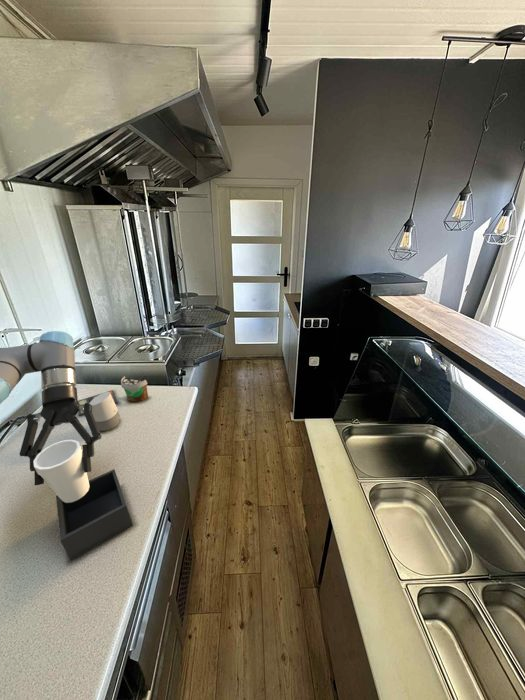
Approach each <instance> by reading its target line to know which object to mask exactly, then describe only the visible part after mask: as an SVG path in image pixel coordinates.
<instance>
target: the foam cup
mask: <svg viewBox="0 0 525 700" xmlns="http://www.w3.org/2000/svg"><path fill="white" fill-rule="evenodd" d="M33 463H34V468H35V470H36V471H37V473H38V475H41V477H42V478H43V479H44V482H45V483H46V484H47V485H48V486H49V488H51V490H52V492H54V493H55V495H58V497H59V498H60V499H61V500H62V501H63V502H65V503H70V502H74V501H76V500H79V499H80V498H81V497H83V496H84V495H85V494H86V493H87V492H88V490H89V487H90V486H89V477H88V472H86V473H84V461H83V447H82V446H81V443H80V441H78V440H75V439H64V440H61V441H58V442H54V443H52V444H50V445H49V446H47V447H45V448H44V449H42V450H41V452H40V453H39V454H38V455H37V456H36V458H35V460H34V461H33Z"/></svg>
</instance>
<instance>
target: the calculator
mask: <svg viewBox="0 0 525 700" xmlns="http://www.w3.org/2000/svg"><path fill="white" fill-rule="evenodd" d="M107 392H110V393H111V396H112V398H113V400H114V402H115V405H118V403H119V402H118V399H117V397H116V395H115V392H114V390H113V389H112V390H108V391H107ZM102 393H103V392H101V393H97V394H95V395H92V396H89V397H85V398H83V399H78V404H79V405H82V404H85V403H90V402H91V401H92V400H93V399H94V398H95V397H97V396H98V395H100V394H102ZM77 414H78V416H79V417H81V416H85V415H84V412H82V411H81V409H80V410H79V411H78V413H77Z"/></svg>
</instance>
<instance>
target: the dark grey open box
mask: <svg viewBox="0 0 525 700" xmlns="http://www.w3.org/2000/svg"><path fill="white" fill-rule="evenodd" d="M88 481H89V486H90V487H89V490H88V492H87V493H86V494H85V495H84V496H83V497H81V498H80V499H79V500H76V501H74V502H70V503H65V502H63V501H62V500H61V499H60V498H59V497H58V495H57V494H55V498H56V499H55V500H56V501H55V502H56V510H57V520H58V521H57V522H58V532H59V533H58V534H59V541H60V543H61V546H62V547H63V548H64V550H65V552H66V554H67V556H68V558H69V560H70V561H72V560H74V559H76V558H77V557H79V556H81V555H83V554H85V553H86V552H88V551H90V550H92V549H93V548H95V547H97V546H98V545H99V546H100V545H101V544H102V543H104V542H106V541H107V540H109V539H111V538H113V537H114V536H116V535H118V534H120V533H121V532H123V531H125V530H127V529H128V528H130V527H132V526H133V525H134V522H133V520H132V517H131V514H130V511H129V508H128V505H127V501H126V499H125V495H124V493H123V490H122V487H121V483H120V481H119V477H118V475H117V473H116V469H115V468H113V469H111V470H109V471H107V472H105V473H102V474H100V475H98V476H96V477H94V478H91V479H88Z"/></svg>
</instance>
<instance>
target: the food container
mask: <svg viewBox="0 0 525 700" xmlns="http://www.w3.org/2000/svg"><path fill="white" fill-rule="evenodd" d="M147 385H148V381H147V380H146V379H144V380H140V379H137V378H127V377H126V376H125V375H124V376H123V377H122V378H121V380H120V386H121V388H122V389H124V392H125V395H126V397H127V400H128V402H130V403H133V404H137V403H142V402H144V401H146V400H148V399H149V393H148V386H147Z"/></svg>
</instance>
